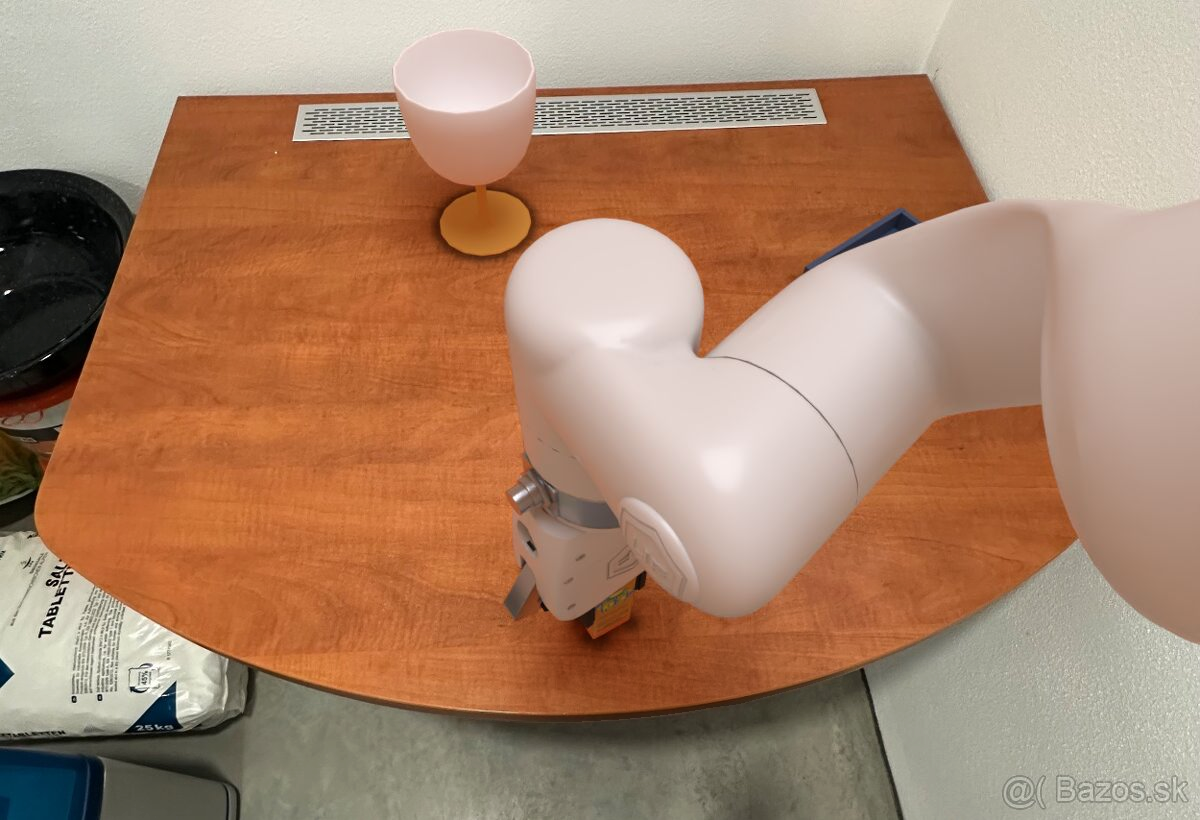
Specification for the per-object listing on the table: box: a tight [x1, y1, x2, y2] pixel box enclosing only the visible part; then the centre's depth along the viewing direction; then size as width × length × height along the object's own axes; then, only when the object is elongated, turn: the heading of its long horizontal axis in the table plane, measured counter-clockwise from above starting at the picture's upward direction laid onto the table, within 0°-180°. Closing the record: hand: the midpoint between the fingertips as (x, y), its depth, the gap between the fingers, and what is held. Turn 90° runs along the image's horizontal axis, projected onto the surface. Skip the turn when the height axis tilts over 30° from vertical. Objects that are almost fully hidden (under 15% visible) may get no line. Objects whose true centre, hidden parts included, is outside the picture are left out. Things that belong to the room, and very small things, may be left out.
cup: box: [391, 27, 537, 257], centre depth 72 cm, size 12×12×17 cm
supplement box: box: [584, 577, 636, 640], centre depth 53 cm, size 3×3×10 cm
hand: (602, 589), depth 54 cm, fingers closed on supplement box, 3 cm apart
